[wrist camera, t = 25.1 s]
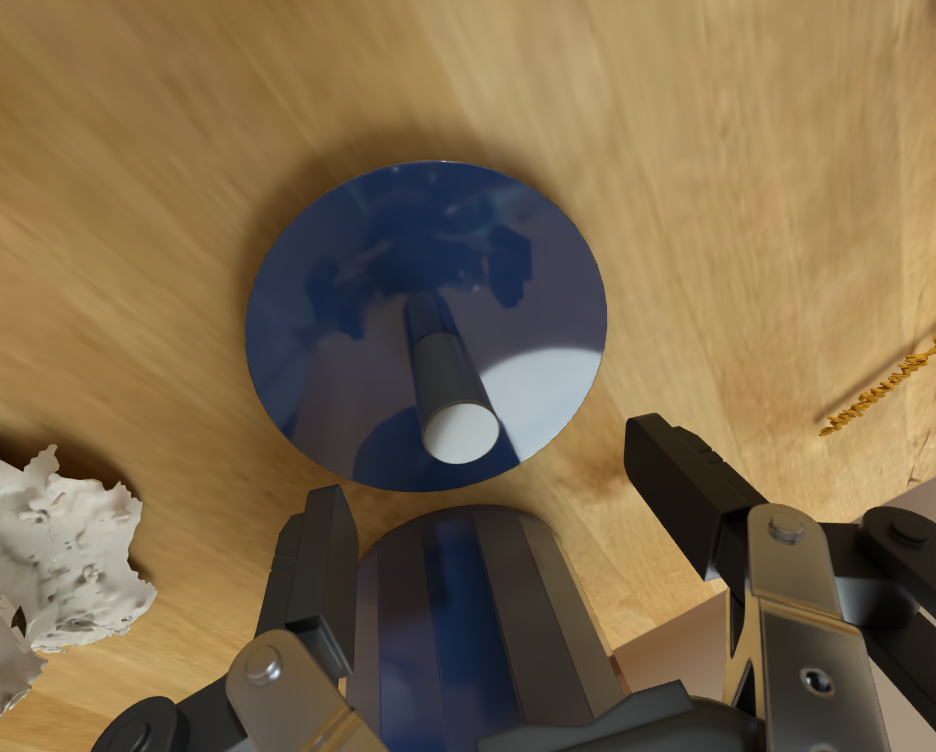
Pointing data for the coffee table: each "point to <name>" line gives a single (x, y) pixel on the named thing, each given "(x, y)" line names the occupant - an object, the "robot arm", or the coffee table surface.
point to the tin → (475, 633)
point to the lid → (425, 326)
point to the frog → (61, 568)
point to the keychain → (878, 391)
